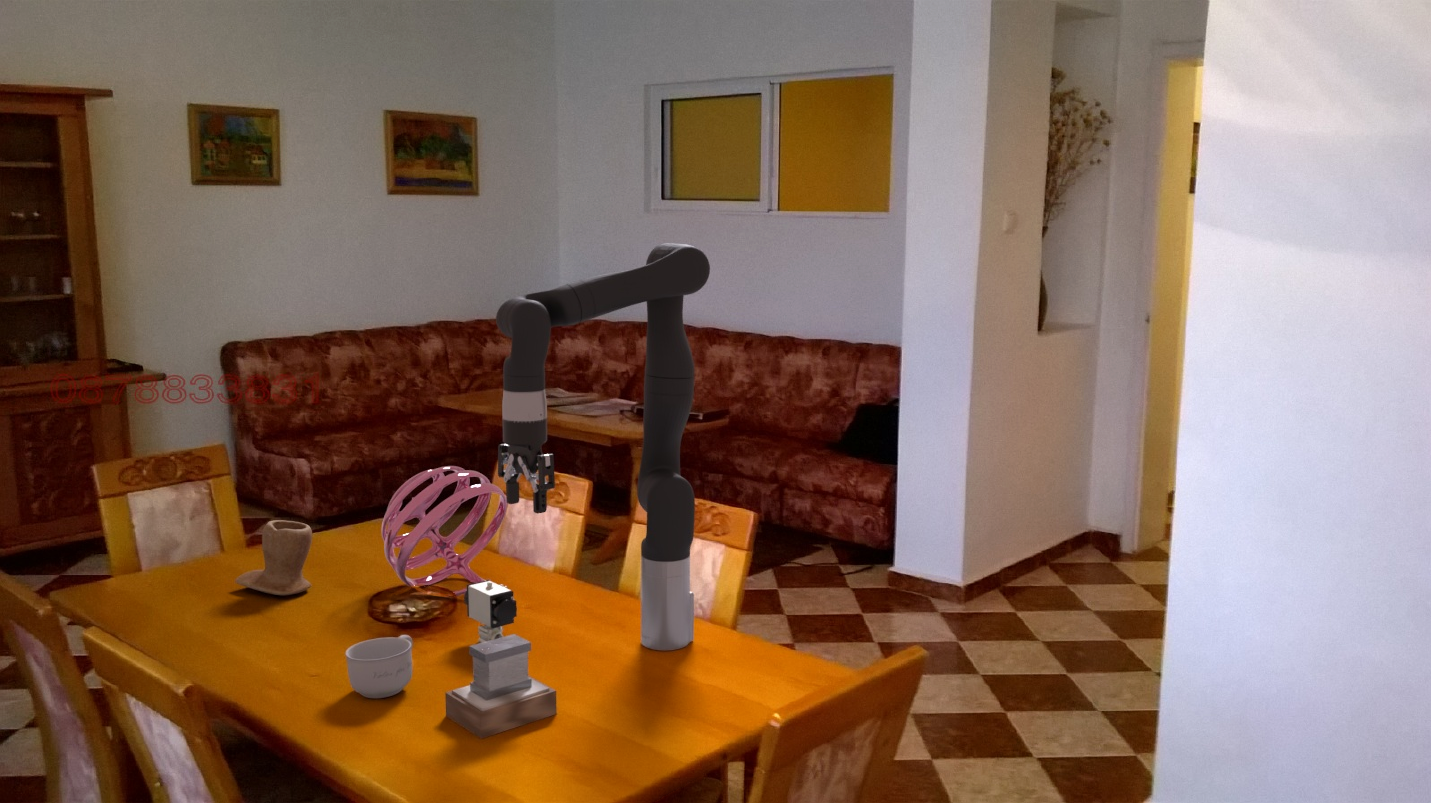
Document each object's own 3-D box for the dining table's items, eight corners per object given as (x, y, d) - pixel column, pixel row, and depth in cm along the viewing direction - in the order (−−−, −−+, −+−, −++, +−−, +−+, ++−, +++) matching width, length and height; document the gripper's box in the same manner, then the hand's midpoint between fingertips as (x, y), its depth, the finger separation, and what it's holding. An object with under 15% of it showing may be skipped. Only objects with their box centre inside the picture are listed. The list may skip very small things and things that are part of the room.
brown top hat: (326, 588, 253) (323, 521, 251) (279, 603, 244) (275, 533, 241) (281, 576, 262) (278, 511, 259) (234, 590, 252) (230, 522, 249)
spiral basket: (553, 505, 248) (472, 423, 257) (447, 563, 229) (363, 472, 238) (526, 584, 266) (451, 505, 275) (425, 644, 247) (349, 557, 256)
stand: (519, 693, 199) (519, 668, 199) (556, 713, 191) (556, 688, 191) (445, 715, 190) (445, 689, 189) (481, 738, 182) (480, 711, 181)
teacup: (378, 709, 192) (376, 663, 191) (333, 695, 198) (331, 649, 197) (439, 681, 204) (438, 637, 203) (395, 668, 210) (394, 625, 208)
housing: (515, 677, 195) (514, 633, 193) (531, 686, 191) (530, 642, 190) (470, 690, 189) (469, 645, 188) (486, 700, 185) (485, 654, 184)
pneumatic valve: (496, 654, 216) (495, 592, 215) (464, 637, 225) (462, 577, 223) (522, 647, 220) (521, 586, 218) (489, 631, 229) (487, 571, 227)
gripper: (566, 418, 198) (567, 512, 201) (520, 408, 208) (522, 497, 211) (529, 423, 193) (530, 519, 196) (483, 412, 203) (485, 503, 206)
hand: (526, 507), depth 203 cm, fingers open, 8 cm apart
